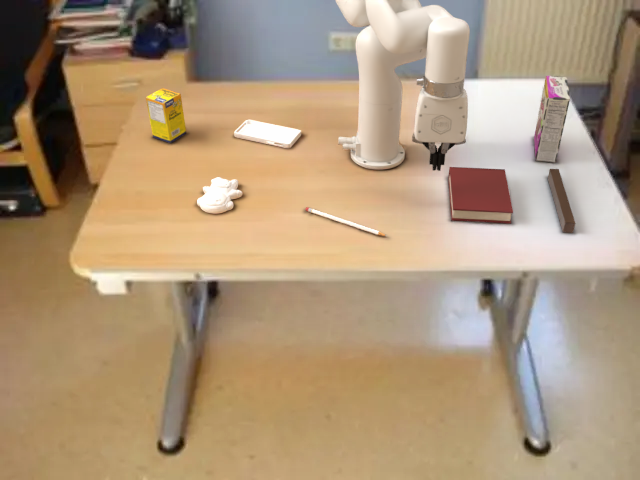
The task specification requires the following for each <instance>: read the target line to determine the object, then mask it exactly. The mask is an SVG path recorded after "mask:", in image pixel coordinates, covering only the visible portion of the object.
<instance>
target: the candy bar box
mask: <svg viewBox="0 0 640 480" xmlns="http://www.w3.org/2000/svg"><path fill="white" fill-rule="evenodd" d="M544 77H545V78H544V83H543V88H542V94H541V97H540V98H541V99H540V104H539V108H538V109H539V110H538V114H537V119H536V125H535V130H534V136H533V144H534V156H535V161H536V162H540V163H541V162H543V163H554V164H555V163H557V159H558V155H559V151H560V146H561V142H562V137H563V132H564V128H565V123H566V119H567V115H568V111H569V105H570V101H571V95H570V87H569V82H568V78H567V76H557V75H556V76H555V75H554V76H553V75H545V76H544Z"/></svg>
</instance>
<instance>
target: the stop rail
mask: <svg viewBox="0 0 640 480" xmlns="http://www.w3.org/2000/svg"><path fill="white" fill-rule="evenodd" d="M547 181H548V185H549V188H550V192H551V195H552V199H553V202H554V205H555V209H556V214H557V216H558V217H557V218H558V221H559V225H560V227H561V231H562V233H568V234H572V233H574V230H575V226H576V220H575V216H574V213H573V210H572V207H571V204H570V201H569V197H568V195H567V191H566V188H565V184H564V181H563V178H562V175H561V171H560V169H559V168H549V169H548V174H547Z"/></svg>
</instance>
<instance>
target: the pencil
mask: <svg viewBox="0 0 640 480" xmlns="http://www.w3.org/2000/svg"><path fill="white" fill-rule="evenodd" d="M305 212H308V213H312V214H314V215H317V216H319V217H320V216H321V217H323V218H326V219H329V220H332V221H335V222H338V223H341V224H344V225H347V226H350V227H352V228H356V229H358V230H361V231H365V232H367V233H371V234H373V235H376V236H381V237H387V235H386V234H385V233H383V232H381V231H379V230H376V229H374V228H371V227H367V226H364V225H362V224H359V223H355V222H353V221H349V220H347V219H343V218H341V217H338V216H335V215H332V214H329V213H326V212H323V211H319V210H317V209H314V208H311V207H308V206H307V207H305Z"/></svg>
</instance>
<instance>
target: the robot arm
mask: <svg viewBox="0 0 640 480" xmlns="http://www.w3.org/2000/svg"><path fill="white" fill-rule="evenodd" d="M334 1H335V3H336V5H337V6H338V9H339V10H340V12H341V14H342V16H343V18H344V19H345V20H346V22H347V23H348V24H349V26H351V27H354V28H363V29H362V30H361V31H360V32H359V33H358V34H357V36H356V38H355V54H356V60H357V67H358V115H357V117H358V118H357V132H356V135H352V136H350V137H348V136H338V138H337V139H338V140H337V141H338V142H337V143H338V146H342V150H347V151H348V150H349V151H350V159H351V160H352V161H353V162H354V163H355V164H356V165H358V166H360V167H362V168H365V169H369V170H379V171H381V170H389V169H392V168H395V167H397V166H399V165H400V164H402V162H404V160H405V156H406V152H405V149H404V147H403V146H402V145H401V144H400V134H401V119H402V106H403V105H402V104H403V92H404V91H403V82H402V80H401V78H400V77H399V76H398V74H397V72H396V68H397V67H400V66H403V65H406V64H410V63H413V62H417V61H420V60H423V59H425V68H424V75H423V76H422V77H420V78H419V77H417V78H416V86H420V87H421V88H420V91H419V94H418V98H417V102H416V107H415V114H414V115H415V116H414V128H413V133H412V137H411V141H412V142H413V143H415V144H420V145H423V146H424V147H425V148H426V149H427V150H428V152H429V164H428V165H430V166H432V171H434V172H435V171H438V172H440V171H441V170H442V166H445V160H446V154H447V153H448V152H449V150H451V149H452V148H453V147H455V146H459V145H465V144H466V143H467V138H466V137H467V132H468V131H467V130H468V117H469V114H468V113H469V101H468V93H467V90H466V89H465V79H466V70H467V69H466V68H467V63H468V62H467V61H468V51H469V43H470V34H471V33H470V31H471V30H470V26H469V23H467V21H466V20H464V19H461V18H458V17H454V16H453V15H452V14H451V13H450V12H449V11H448V10H447V9H446V8H444V7H443V6H441V5H438V4H431V5H425V6H422V3H421V2H420V0H334ZM437 143H438V144H440V145H439V146H438V147H437V145H436V144H437Z"/></svg>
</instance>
